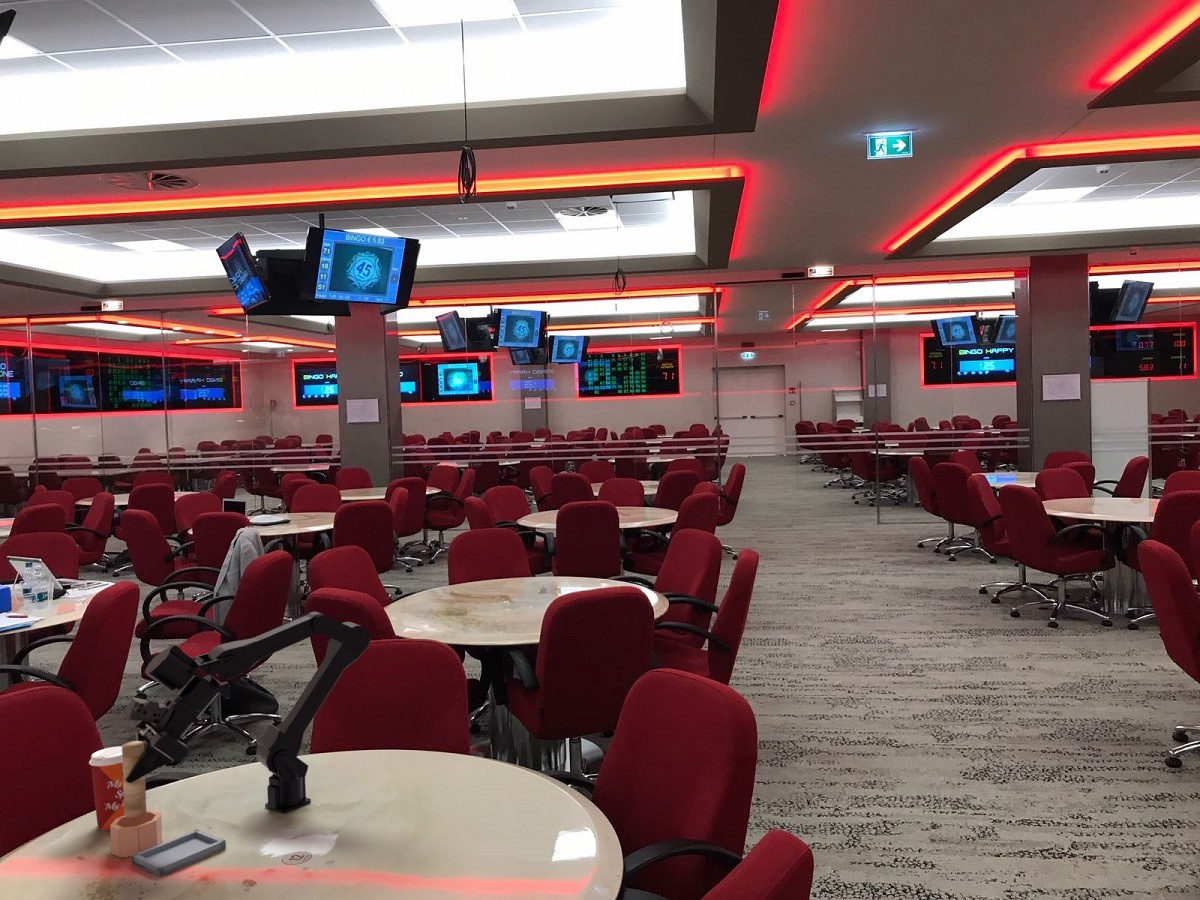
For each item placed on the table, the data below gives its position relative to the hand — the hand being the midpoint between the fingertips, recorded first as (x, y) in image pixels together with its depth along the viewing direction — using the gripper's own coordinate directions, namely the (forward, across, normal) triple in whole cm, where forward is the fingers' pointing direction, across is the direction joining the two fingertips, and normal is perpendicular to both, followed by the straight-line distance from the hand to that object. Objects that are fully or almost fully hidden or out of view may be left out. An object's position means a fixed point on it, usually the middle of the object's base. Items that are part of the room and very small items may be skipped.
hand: (125, 778), depth 157 cm
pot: (+8, 0, +10) cm, 13 cm away
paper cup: (+9, -14, +9) cm, 19 cm away
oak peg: (+4, 0, +6) cm, 7 cm away
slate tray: (+4, +10, +14) cm, 17 cm away
